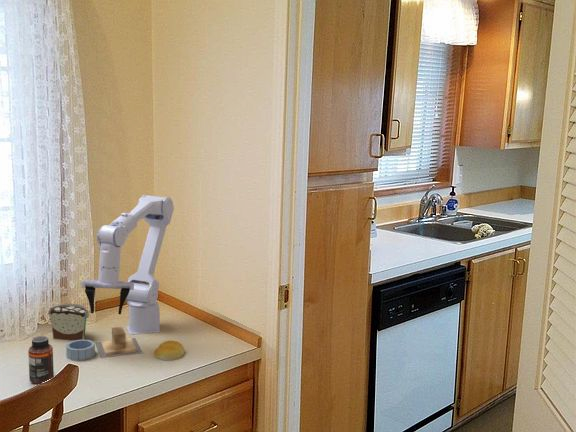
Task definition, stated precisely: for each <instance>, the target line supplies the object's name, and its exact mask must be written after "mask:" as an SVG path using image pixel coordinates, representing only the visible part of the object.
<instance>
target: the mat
mask: <svg viewBox="0 0 576 432" xmlns="http://www.w3.org/2000/svg"><path fill="white" fill-rule="evenodd" d="M132 340H133V342H134V344H135V346H136V348H137V352H129V353H121V354H113V355H105V353H104V351H103V348H102V345H101V341H97V342H95V341H94V344H95V347H96V350H97V352H98V355H99V357H100V359H105V358H106V359H107V358H114V357H115V358H116V357H121V356H122V357H123V356H128V355H129V356H130V355H139V354H144V352H143V350H142V349H141V346H140V345H139V342H138V340H137V339H136V337H133V338H132Z"/></svg>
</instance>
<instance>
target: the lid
mask: <svg viewBox="0 0 576 432" xmlns="http://www.w3.org/2000/svg"><path fill="white" fill-rule="evenodd" d="M126 335H127V334H126V332H125V330H124V328H123V326H116V327H111V339H110V340H101V341H100V342H101V345H102V348H103V351H104V353H105V355H113V354H121V353H129V352H137V348H136V346H135V344H134V342H133V340H132V338H131V337H128V338H126Z"/></svg>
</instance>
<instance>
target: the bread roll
mask: <svg viewBox="0 0 576 432" xmlns="http://www.w3.org/2000/svg"><path fill="white" fill-rule="evenodd" d="M184 354H185V347H184V345H183V344H182V343H181V342H178V341H176V340H166V341H164V342H162V343H160V345H158V347H157V348H155V350H154V352H153V356H154V357H155V358H156V359H158V360H160V361H174V360H175V361H176V360H178V359H181V358H182V357H183V356H184Z"/></svg>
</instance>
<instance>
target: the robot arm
mask: <svg viewBox="0 0 576 432" xmlns="http://www.w3.org/2000/svg"><path fill="white" fill-rule="evenodd" d="M174 209H175V207H174V201H173V200H172V198H171V197H169V196H166V197H165V196H157V195H148V194H143V195H141V197H139V199H138V203H137V204H136V206H135V207H134V208H133V209H132V210H131V211H130V212H122V213H121V214H120V215H118V217H116V218H115V219H114V220H113V221H111V223H110V224H104V225H102V226H100V227H99V228H98V231H97V234H96V241H97V243H98V247H97V248H98V250H99V264H98V276H97V277H98V279H82V281H81V287H80V288H82V289H84V292H85V295H86V297H87V300H88V303H89V308H90V314H94V313H95V296H96V294H95V293H96V289H109V290H110V289H112V290H113V289H114V290H120V293H119V295H120V296H119V307H118V311H117V312H118V315H122V311H123V310H122V309H123V306H124V304H125V302H126V304H127V305H128V325H125V328H126V330H127V331H128V334H129V335H130V336H133V335H142V334H150V333H152V334H153V333H160V331H161V330H160V326H161V325H160V323H161V322H160V321H161V320H160V319H161V318H160V317H161V316H160V315H161V314H160V313H161V312H160V310H161V309H160V304H159V302H157V299H158V297H159V287H160V283H159V281H158V280H157V279H156V277H155V276H154V275H155V271H156V267H157V263H158V258H159V256H160V252H161V248H162V244H163V241H164V237H165V233H166V230H167V226H168V225H170V224H171V221H172V218H173V215H174V214H173V213H174ZM143 219H144V221H145V222H146V223H147V224H149V229H148V233H147V236H146V240H145V243H144V247H143V251H142V254H141V257H140V260H139V264H138V267H137V271H136V272H135V273H133V274H132V275H130V276H128V279H127V281H122V280H120V279H119V278H120V265H121V253H122V246H124V245H125V243H126V240H127V238H128V236H129V235H130V234H131V233H132V232H133V231H135V229H136V228H137V227H138V222H139V221H141V220H143Z"/></svg>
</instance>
